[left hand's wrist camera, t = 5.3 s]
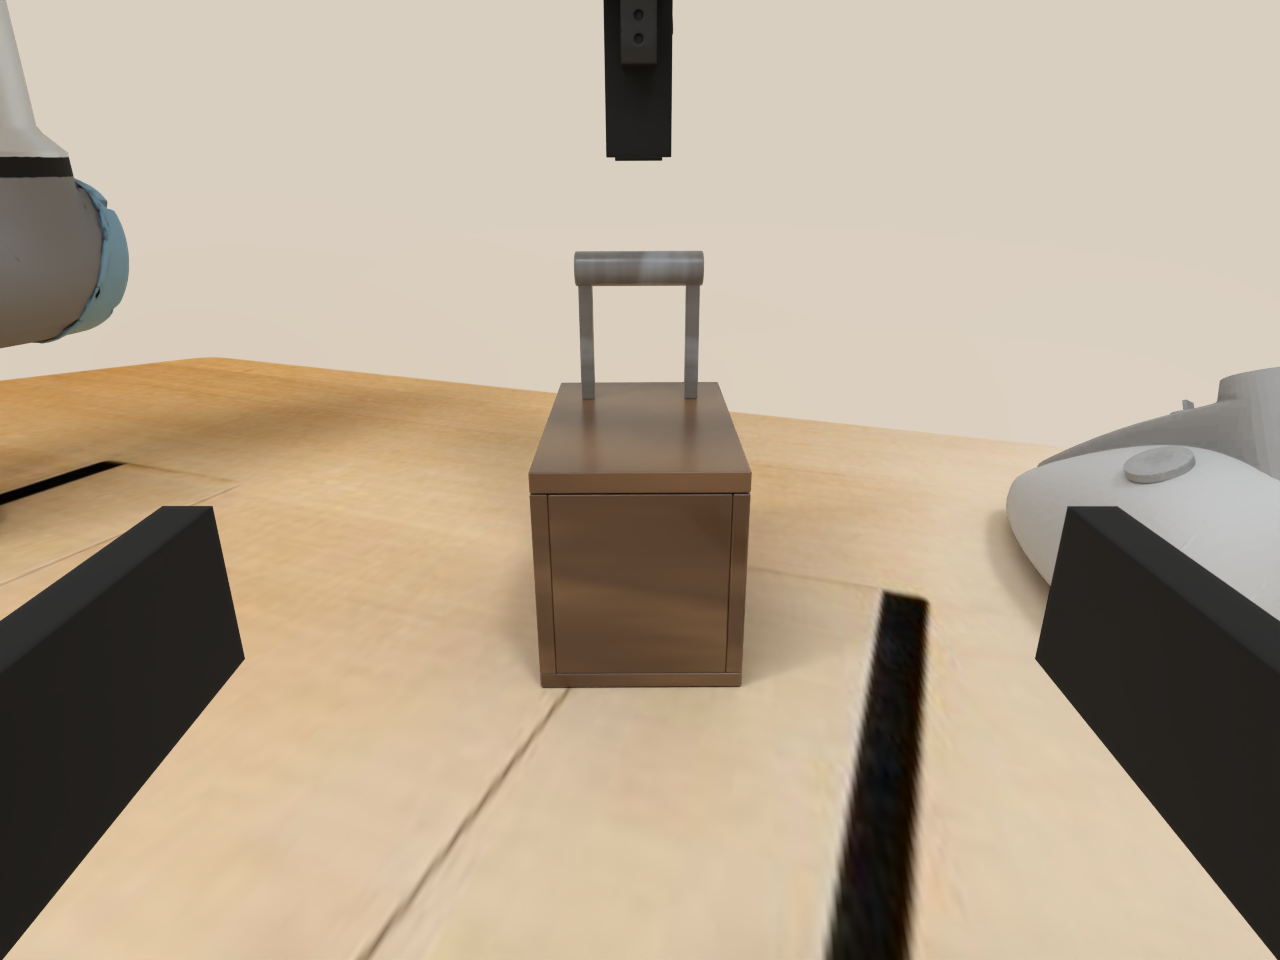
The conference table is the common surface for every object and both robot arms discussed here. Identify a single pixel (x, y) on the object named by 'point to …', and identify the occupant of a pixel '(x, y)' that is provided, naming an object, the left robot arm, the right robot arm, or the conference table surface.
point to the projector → (1176, 486)
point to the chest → (640, 588)
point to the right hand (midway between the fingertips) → (638, 160)
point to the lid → (639, 404)
